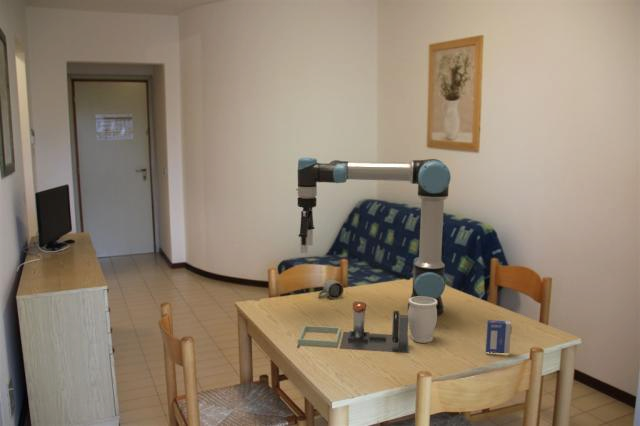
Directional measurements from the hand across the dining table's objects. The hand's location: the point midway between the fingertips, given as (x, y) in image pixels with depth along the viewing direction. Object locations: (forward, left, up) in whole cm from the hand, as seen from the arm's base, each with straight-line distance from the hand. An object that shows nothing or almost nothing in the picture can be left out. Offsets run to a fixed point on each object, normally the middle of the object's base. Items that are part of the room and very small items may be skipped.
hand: (306, 248), depth 234 cm
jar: (-46, +19, -28) cm, 57 cm away
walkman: (-72, +28, -28) cm, 82 cm away
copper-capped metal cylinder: (-23, +24, -27) cm, 43 cm away
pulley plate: (-29, +27, -28) cm, 48 cm away
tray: (-9, +27, -28) cm, 40 cm away
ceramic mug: (-7, -25, -28) cm, 39 cm away
